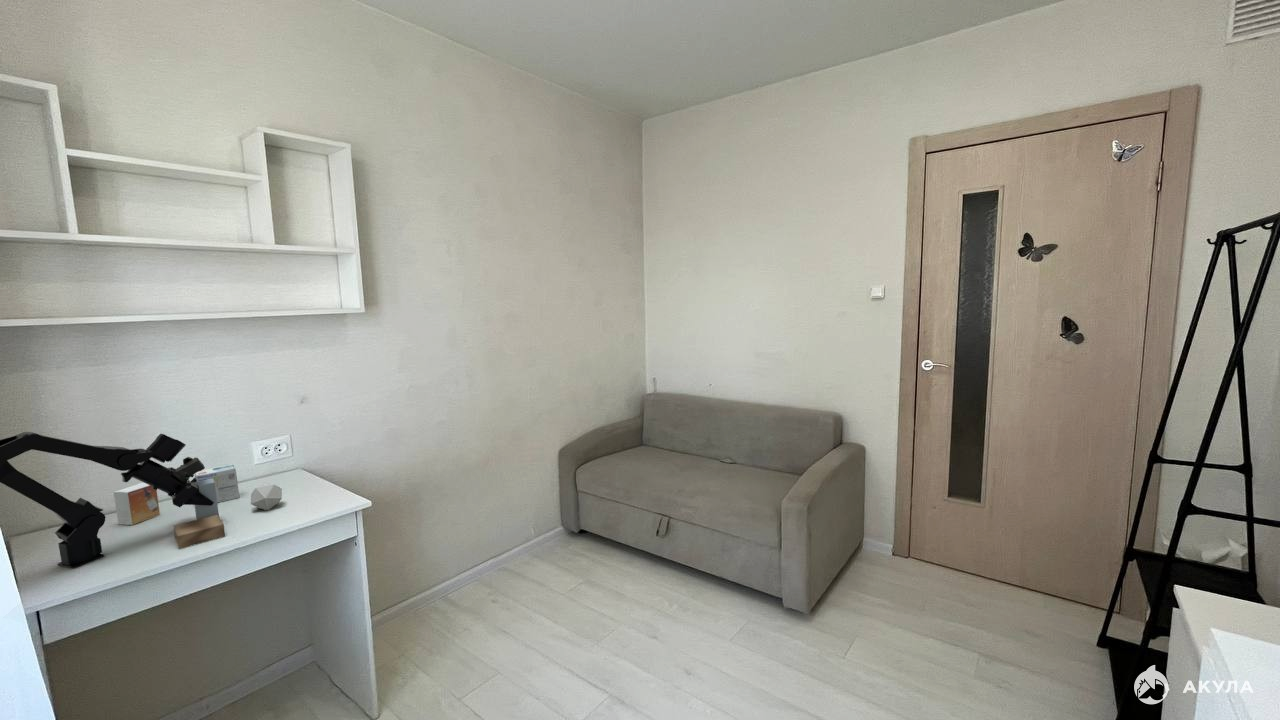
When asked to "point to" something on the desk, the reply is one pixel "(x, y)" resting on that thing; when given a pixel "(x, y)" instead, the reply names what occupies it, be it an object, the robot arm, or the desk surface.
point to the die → (266, 496)
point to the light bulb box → (222, 481)
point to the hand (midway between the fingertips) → (211, 501)
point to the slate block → (209, 491)
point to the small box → (136, 504)
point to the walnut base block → (199, 531)
